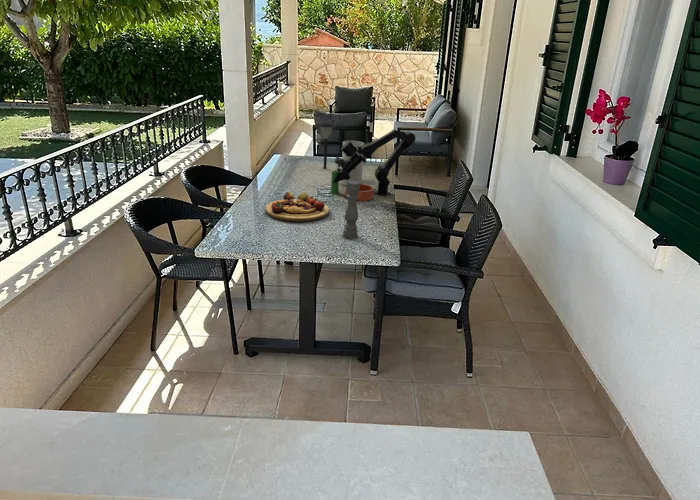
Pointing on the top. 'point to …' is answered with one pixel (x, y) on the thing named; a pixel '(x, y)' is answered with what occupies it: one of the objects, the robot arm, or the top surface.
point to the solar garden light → (326, 130)
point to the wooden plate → (297, 208)
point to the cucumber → (334, 185)
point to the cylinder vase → (357, 173)
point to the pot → (363, 192)
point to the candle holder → (351, 210)
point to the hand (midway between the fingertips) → (332, 181)
